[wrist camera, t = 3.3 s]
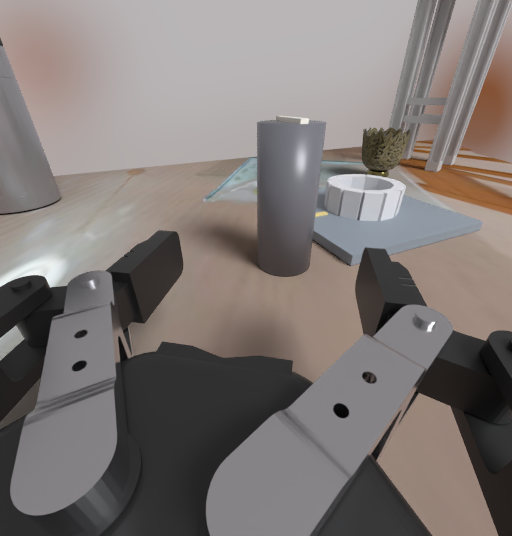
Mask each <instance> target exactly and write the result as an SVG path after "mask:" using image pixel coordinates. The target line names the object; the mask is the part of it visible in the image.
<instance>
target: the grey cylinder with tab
mask: <svg viewBox="0 0 512 536" xmlns="http://www.w3.org/2000/svg"><path fill="white" fill-rule="evenodd" d="M325 128H326V122H321V121H311V120H309V119H308V118H299V117H289V116H277V117H276V120H270V121H260V122H257V263H258V266H259V267H260V268H261V269H262V270H263V271H264V272H266V273H269V274H272V275H275V276H284V277H287V276H295V275H299V274H302V273H303V272H305V271H306V270H307V269H308V268H309V265H310V256H311V248H312V239H313V231H314V222H315V214H316V205H317V197H318V188H319V180H320V171H321V163H322V154H323V145H324V136H325Z"/></svg>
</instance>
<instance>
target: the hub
mask: <svg viewBox="0 0 512 536" xmlns="http://www.w3.org/2000/svg"><path fill="white" fill-rule="evenodd" d="M405 188H406V187H405V185H404V184H402V183H401V182H400V181H397V180H394V179H390V178H387V177H382V176H375V175H365V174H350V175H348V174H344V175H336V176H333V177H331V178H329V179H328V180H327V186H326V187H325V188H318V197H317V205H316V214H315V222H314V231H313V240H314V241H316V242H317V243H319V244H320V245H321V246H323V247H324V248H326V249H327V250H329V251H330V252H332V253H333V254H334V255H336V256H337V257H339V258H340V259H342V260H343V261H344V262H346V263H347V264H349V265H350V266H352V265H355V264H359V263H360V262H361V258H362V254H363V250H364V248H365V247H368V248H380V249H386V251H387V253H388V255H392V254H395V253H399V252H402V251H406V250H410V249H413V248H417V247H420V246H424V245H428V244H431V243H435V242H439V241H442V240H446V239H449V238H453V237H457V236H460V235H464V234H467V233H471V232H475V231H478V230H480V228H481V226H482V224H483V221H480V220H477V219H474V218H471V217H468V216H465V215H462V214H459V213H456V212H453V211H450V210H447V209H444V208H441V207H438V206H435V205H432V204H429V203H426V202H423V201H419V200H416V199H413V198H410V197H407V196H404V192H405Z"/></svg>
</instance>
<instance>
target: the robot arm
mask: <svg viewBox="0 0 512 536" xmlns="http://www.w3.org/2000/svg"><path fill="white" fill-rule="evenodd" d="M2 46H3V44H2V41H1V39H0V214H3V213H14V212H21V211H26V210H31V209H35V208H39V207H43V206H46V205H49V204H51V203H54V202H56V201H58V200H59V199H60V198H61V195H60V192H59V190H58V187H57V184H56V182H55V179H54V177H53V174H52V172H51V169H50V166H49V163H48V161H47V158H46V155H45V153H44V150H43V148H42V145H41V142H40V140H39V137H38V135H37V132H36V129H35V127H34V124H33V122H32V119H31V116H30V114H29V111H28V109H27V106H26V103H25V101H24V98H23V96H22V93H21V90H20V88H19V85H18V83H17V80H16V78H15V75H14V73H13V70H12V67H11V65H10V62H9V60H8V57H7V54H6V52H5V49H4V48H3V47H2ZM182 271H183V258H182V252H181V246H180V240H179V236H178V233H177V232H174V231H162V230H159V231H157V232H156V233H155V234H154V235H153V236H151V237H150V238H149V239H148V240H146V241H144V242H142V243H140V244H137V245H136V246H135V247H134V248H132V249H131V250H130V252H128V253H126V254H125V255H124V257H122V258H120V259H119V260H118V261H117V262H116V263H114V264H113V265H112V266H111V267H110V268H108V269H107V270H106V271H101V270H100V271H91V272H87V273H84V274H81V275H79V276H77V277H75V278H74V279H72V280H71V281H70V282H69V283H68V286H62V287H51V288H50V287H49V284H48V282H47V280H46V279H45V277H43V276H38V275H33V276H26V277H22V278H18V279H15V280H13V281H10V282H8V283H6V284H5V285H3V286H2V287H0V338H1V337H2V336H3V335H4V334H6V333H7V332H8V331H9V330H11V329H12V328H13V327H14V326H15V325H16V326H17V327H18V329H19V330H20V332H21V334H22V335H23V337H24V338H25V339H24V340H23V341H22V342H21V343H20V344H19V345H17V346H16V347H15V348H14V349H13V350H12V351H11V352H10V353H9V354H7V355H6V356H5V357H4V358H3V359H2V360H1V361H0V422H1V420H2V419H3V418H4V417H5V416H6V415H7V414H8V413H9V412H10V411H11V409H12V408H13V407H14V406H15V405H16V404H17V403H18V402H19V401H20V400H21V398H22V397H23V396H24V395H25V394H26V393H27V392H28V391H29V390H30V388H31V387H32V386H33V385H34V384H35V383H36V382H37V381H38V380H39V379H40V377H41V382H40V387H39V392H38V398H37V403H36V406H35V408H34V410H33V411H31V412H30V413H29V414H27V415H25V416H23V417H22V418H20V419H18V420H16V421H15V422H13V423H11V424H9V425H7V426H6V427H4V428H2V429H0V536H432V535H431V533H430V532H429V531H428V529H427V528H426V527H425V525H424V524H423V523H422V521H421V520H420V519H419V517H418V516H417V515H416V513H415V512H414V511H413V509H412V508H411V507H410V505H409V504H408V503H407V501H406V500H405V499H404V497H403V496H402V495H401V493H400V492H399V491H398V489H397V488H396V487H395V485H394V484H393V483H392V481H391V480H390V479H389V477H388V476H387V475H386V473H385V472H384V471H383V469H382V468H381V467H380V465H379V464H378V463H377V462H378V460H379V458H380V457H381V455H382V454H383V452H384V450H385V448H386V447H387V445H388V443H389V442H390V440H391V438H392V436H393V435H394V433H395V431H396V430H397V428H398V427H399V425H400V424H401V422H402V420H403V419H404V417H405V416H406V414H407V413H408V411H409V410H410V408H411V406H412V405H413V403H414V402H415V400H416V399H417V397H418V395H419V394H420V393H421V394H423V395H426V396H428V397H430V398H433V399H435V400H438V401H440V402H442V403H445V404H447V405H450V406H451V409H452V411H453V414H454V417H455V419H456V422H457V425H458V428H459V430H460V433H461V436H462V438H463V441H464V444H465V446H466V449H467V452H468V454H469V457H470V460H471V463H472V465H473V468H474V471H475V473H476V476H477V479H478V481H479V484H480V487H481V490H482V492H483V495H484V498H485V500H486V503H487V506H488V508H489V511H490V514H491V516H492V519H493V522H494V525H495V527H496V530H497V533H498V535H499V536H512V332H510V331H495V332H492V333H491V334H490V335H489V337H488V338H487V340H486V341H484V340H481V339H478V338H474V337H471V336H468V335H465V334H462V333H459V332H456V331H454V330H453V326H452V324H451V322H450V321H449V320H448V319H447V318H446V317H445V316H444V315H443V314H441V313H440V312H438V311H436V310H434V309H432V308H429V307H427V305H426V303H425V301H424V300H423V298H422V296H421V294H420V292H419V290H418V288H417V287H416V286H415V283H414V281H413V280H412V277H411V275H410V273H409V271H408V270H407V269H406V268H405V267H404V266H402V265H401V264H400V263H399V262H391V260H390V258H389V255H388V253H387V251H386V249H380V248H368V247H365V248H364V250H363V254H362V258H361V262H360V266H359V271H358V275H357V279H356V286H355V293H356V299H357V304H358V309H359V314H360V318H361V323H362V328H363V333H364V335H363V336H362V337H361V338H360V339H359V340H358V341H357V342H356V343H355V344H354V345H353V346H352V347H351V348H350V349H348V350H347V351H346V352H345V353H344V354H343V355H342V356H341V357H340V358H339V359H338V360H337V361H336V362H335V363H334V364H333V365H332V366H331V367H330V368H329V369H328V370H327V371H326V372H325V373H324V374H323V375H322V376H321V377H320V378H319V379H318V380H316V381H315V382H314V383H312V382H311V381H309V380H308V379H306V378H305V377H303V376H301V375H299V374H297V373H294V372H292V364H293V361H290V360H284V359H277V358H270V357H263V356H248V357H233V358H221V357H218V356H216V355H213V354H211V353H209V352H206V351H204V350H201V349H199V348H196V347H194V346H189V345H182V344H175V343H169V342H162V343H161V345H160V346H159V348H158V350H157V351H156V352H149V353H144V354H140V355H137V356H134V351H133V345H132V338H131V332H130V329H129V326H128V325H129V324H130V323H131V322H136V323H145V322H146V321H147V319H148V318H149V317H150V315H151V314H152V313H153V311H154V310H155V309H156V307H157V306H158V305H159V303H160V302H161V301H162V299H163V298H164V297H165V295H166V294H167V293H168V291H169V290H170V289H171V287H172V286H173V285H174V283H175V282H176V281H177V279H178V278H179V277H180V275H181V274H182Z"/></svg>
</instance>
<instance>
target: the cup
mask: <svg viewBox="0 0 512 536" xmlns="http://www.w3.org/2000/svg"><path fill="white" fill-rule="evenodd" d="M383 130H384V129H382V128H380V130H379V132H378V131H377V129H376V128H373V129H372V130H371V128H370V129H369V130H368V131H366V129H364V134H363V145H362V161H363V164H364V165H365V166H366V167H367V168H369V169H368V171H367V175H375V176H382V177H387V176H388V175H389V172H388V170H390V169H393V168H394V167H396V166H397V165H398V163H399V162H400V160H401V158H402V156H403V154H404V151H405V149H406V146H407V144H408V141H409V138H410V136H411V133H412V131H413V130H412V131H410V129H409V130H408V131H407V132H404V133H402V129H401V128H399V129H398V130H397V131H396V130H395V129H394V128H392V127H390V128H389V129H387V130H386V131H383Z"/></svg>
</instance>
